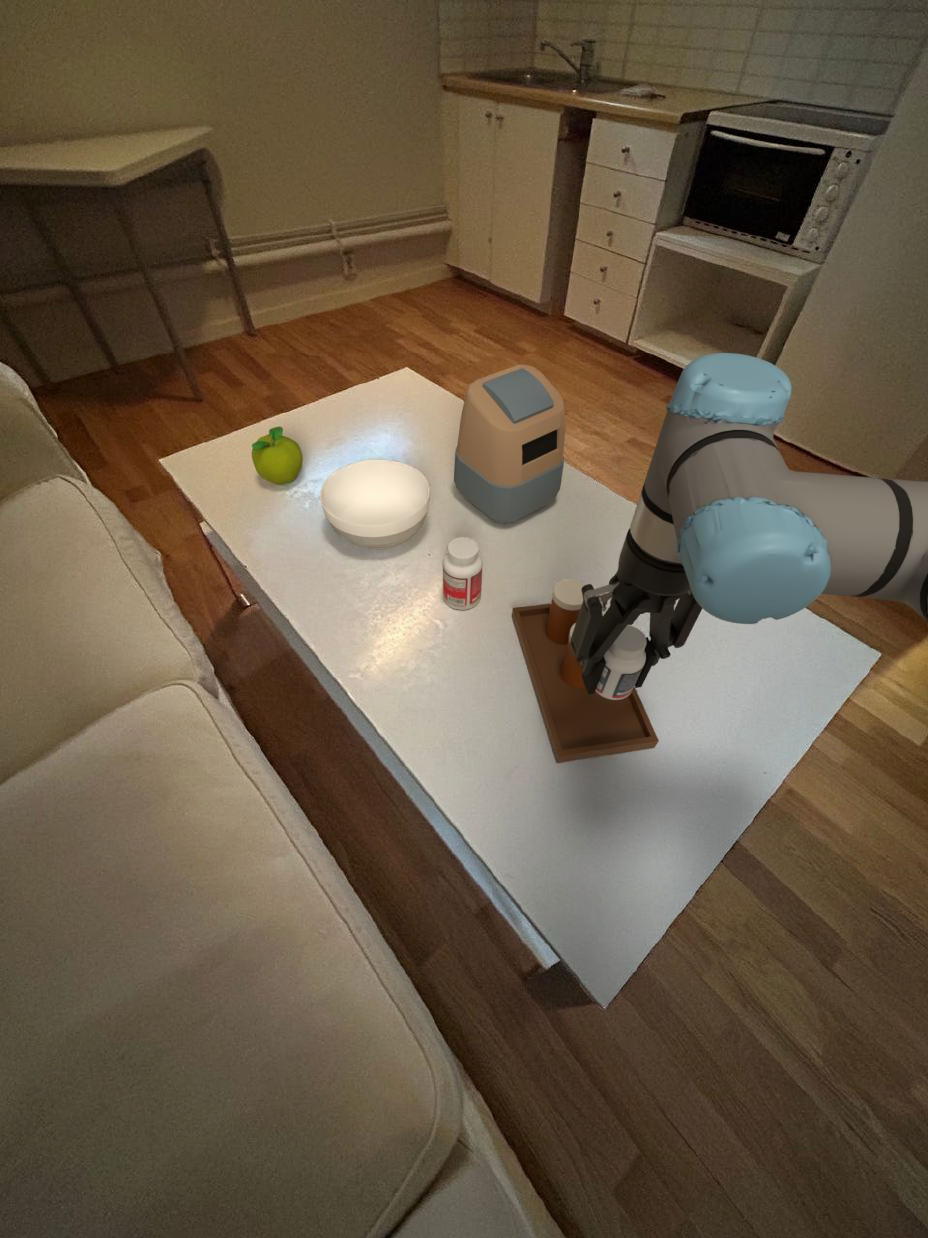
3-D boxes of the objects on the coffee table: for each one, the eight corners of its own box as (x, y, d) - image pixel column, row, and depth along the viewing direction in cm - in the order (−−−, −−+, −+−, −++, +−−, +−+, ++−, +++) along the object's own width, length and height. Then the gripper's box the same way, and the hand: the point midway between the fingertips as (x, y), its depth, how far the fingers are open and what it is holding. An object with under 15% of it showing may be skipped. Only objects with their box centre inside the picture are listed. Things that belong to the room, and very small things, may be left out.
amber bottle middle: (600, 686, 78) (615, 647, 71) (565, 691, 77) (576, 652, 70) (588, 657, 81) (601, 617, 74) (555, 662, 80) (565, 622, 73)
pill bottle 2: (637, 674, 68) (658, 630, 61) (627, 707, 64) (647, 664, 58) (596, 659, 69) (612, 614, 62) (584, 691, 66) (599, 647, 59)
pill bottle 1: (474, 580, 91) (476, 530, 83) (485, 606, 88) (489, 556, 79) (438, 588, 90) (437, 537, 82) (448, 614, 86) (448, 564, 78)
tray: (654, 748, 72) (659, 740, 70) (556, 763, 70) (558, 756, 69) (592, 606, 88) (595, 598, 87) (511, 616, 87) (512, 607, 85)
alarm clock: (501, 537, 99) (513, 419, 81) (445, 492, 107) (445, 377, 89) (565, 502, 106) (588, 387, 88) (508, 463, 114) (519, 350, 96)
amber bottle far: (582, 642, 83) (595, 602, 76) (549, 647, 82) (559, 606, 75) (572, 617, 86) (583, 576, 79) (540, 621, 85) (549, 580, 78)
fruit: (250, 487, 107) (235, 442, 99) (278, 462, 112) (265, 417, 105) (289, 499, 105) (277, 453, 97) (316, 473, 110) (306, 428, 103)
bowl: (408, 488, 108) (406, 449, 101) (448, 547, 97) (448, 507, 90) (315, 513, 102) (306, 473, 95) (346, 577, 91) (338, 538, 85)
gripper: (743, 503, 52) (668, 648, 70) (560, 521, 50) (531, 666, 68) (785, 556, 48) (694, 697, 65) (586, 579, 45) (547, 718, 63)
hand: (611, 681), depth 66 cm, fingers closed on pill bottle 2, 5 cm apart
